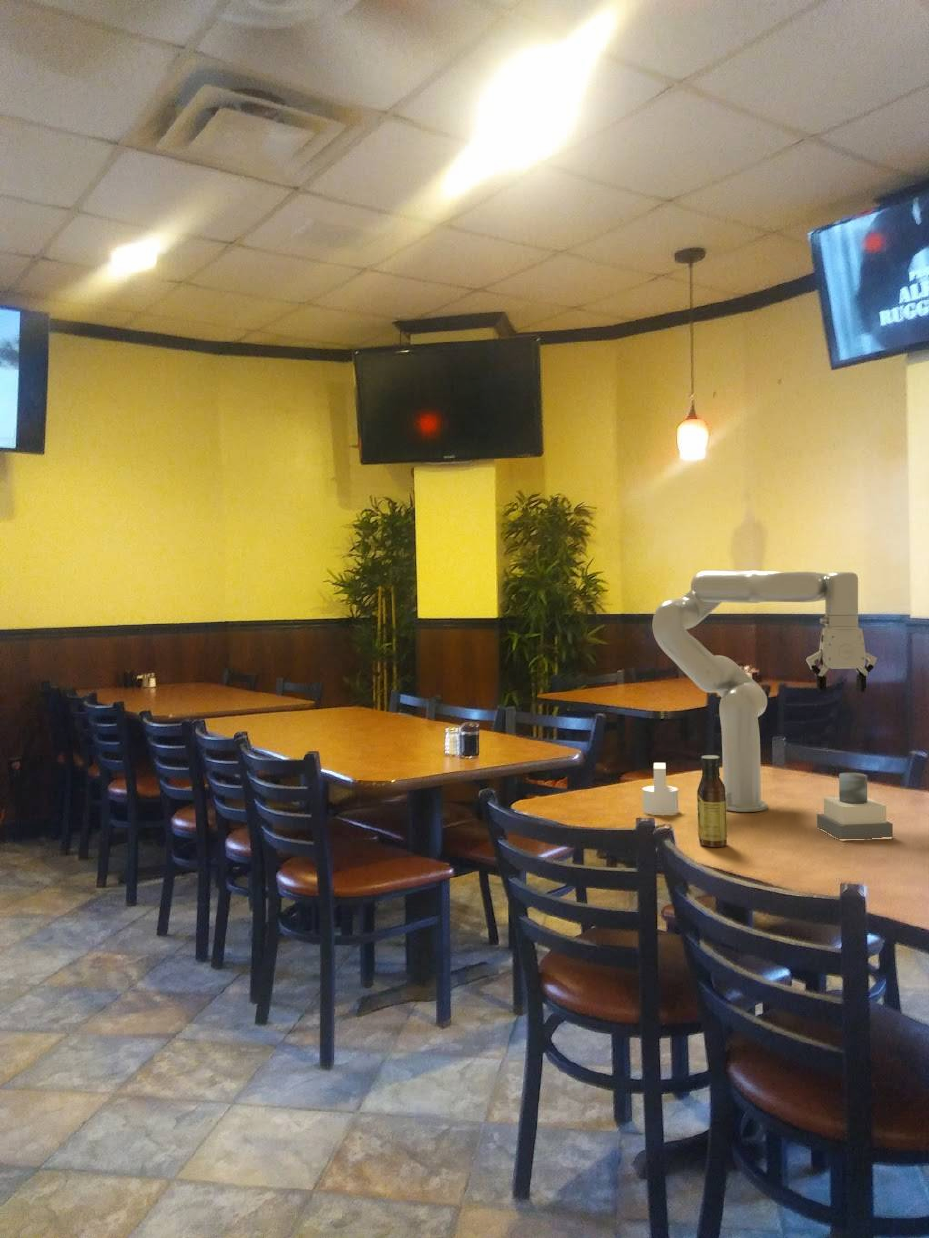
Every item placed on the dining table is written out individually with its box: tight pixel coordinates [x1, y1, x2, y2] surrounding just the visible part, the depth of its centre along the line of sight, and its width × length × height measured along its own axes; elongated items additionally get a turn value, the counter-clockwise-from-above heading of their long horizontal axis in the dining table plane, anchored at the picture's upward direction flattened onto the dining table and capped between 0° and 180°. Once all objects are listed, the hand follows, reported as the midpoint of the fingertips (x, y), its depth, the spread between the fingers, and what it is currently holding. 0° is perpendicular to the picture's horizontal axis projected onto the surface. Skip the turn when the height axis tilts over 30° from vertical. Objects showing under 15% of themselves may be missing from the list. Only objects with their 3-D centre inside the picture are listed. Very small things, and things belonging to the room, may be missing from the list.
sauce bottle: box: [696, 754, 728, 849], centre depth 213 cm, size 6×6×20 cm
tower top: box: [823, 796, 887, 825], centre depth 220 cm, size 10×10×4 cm
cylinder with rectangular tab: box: [641, 762, 679, 816], centre depth 247 cm, size 9×9×12 cm
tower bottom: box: [816, 813, 894, 839], centre depth 220 cm, size 12×12×4 cm
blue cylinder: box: [838, 772, 868, 804], centre depth 221 cm, size 6×6×6 cm
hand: (841, 691), depth 237 cm, fingers open, 9 cm apart
